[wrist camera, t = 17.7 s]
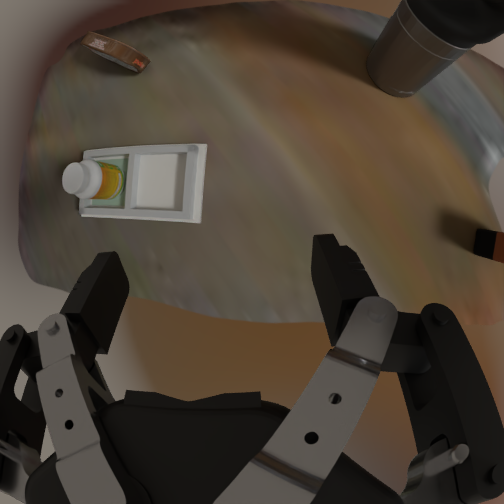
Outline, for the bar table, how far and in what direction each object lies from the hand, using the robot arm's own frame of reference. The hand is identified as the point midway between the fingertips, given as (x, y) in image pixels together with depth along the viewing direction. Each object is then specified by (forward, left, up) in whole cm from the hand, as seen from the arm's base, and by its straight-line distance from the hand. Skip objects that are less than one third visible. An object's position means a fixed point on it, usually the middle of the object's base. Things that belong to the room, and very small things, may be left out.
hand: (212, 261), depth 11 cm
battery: (-1, +39, -27) cm, 48 cm away
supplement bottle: (-5, -23, -27) cm, 35 cm away
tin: (-27, -25, -28) cm, 46 cm away
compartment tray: (-5, -18, -27) cm, 33 cm away
